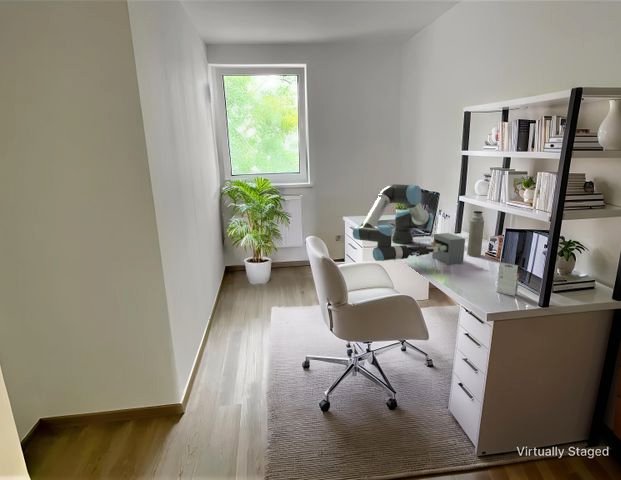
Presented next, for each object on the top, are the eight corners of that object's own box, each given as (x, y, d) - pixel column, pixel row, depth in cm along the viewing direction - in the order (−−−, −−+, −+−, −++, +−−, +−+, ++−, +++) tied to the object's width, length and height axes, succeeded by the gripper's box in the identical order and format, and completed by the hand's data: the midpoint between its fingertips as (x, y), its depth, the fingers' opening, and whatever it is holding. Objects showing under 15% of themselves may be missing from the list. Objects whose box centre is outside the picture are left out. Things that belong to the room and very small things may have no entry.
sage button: (439, 250, 216) (440, 245, 216) (447, 249, 218) (448, 244, 217) (443, 251, 213) (443, 246, 213) (450, 250, 215) (451, 245, 214)
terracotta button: (430, 246, 225) (430, 241, 225) (438, 245, 227) (438, 240, 226) (433, 247, 222) (433, 242, 222) (440, 246, 224) (441, 241, 223)
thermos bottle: (466, 253, 239) (470, 210, 233) (479, 253, 237) (484, 210, 231) (467, 256, 232) (472, 212, 225) (481, 257, 230) (486, 212, 223)
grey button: (435, 248, 221) (435, 243, 220) (442, 247, 222) (443, 242, 221) (438, 249, 218) (438, 244, 217) (445, 248, 219) (446, 243, 219)
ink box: (498, 290, 175) (501, 260, 172) (517, 294, 170) (520, 263, 166) (496, 292, 172) (499, 262, 169) (514, 296, 167) (518, 265, 164)
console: (432, 257, 229) (434, 234, 226) (446, 256, 232) (448, 233, 228) (448, 265, 214) (450, 239, 211) (463, 263, 217) (465, 238, 213)
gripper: (394, 255, 214) (430, 252, 220) (405, 262, 202) (443, 258, 208) (394, 243, 212) (431, 240, 218) (406, 248, 200) (444, 245, 206)
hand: (437, 249), depth 213 cm, fingers closed
